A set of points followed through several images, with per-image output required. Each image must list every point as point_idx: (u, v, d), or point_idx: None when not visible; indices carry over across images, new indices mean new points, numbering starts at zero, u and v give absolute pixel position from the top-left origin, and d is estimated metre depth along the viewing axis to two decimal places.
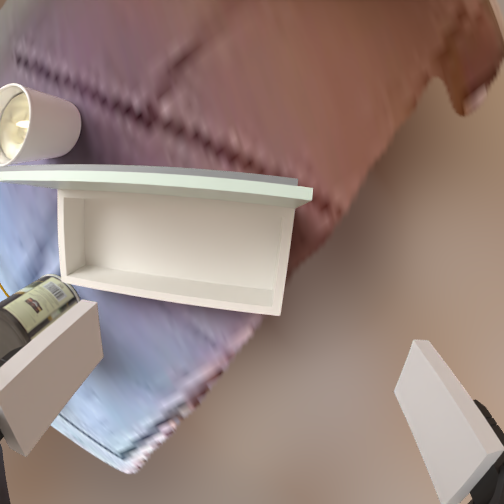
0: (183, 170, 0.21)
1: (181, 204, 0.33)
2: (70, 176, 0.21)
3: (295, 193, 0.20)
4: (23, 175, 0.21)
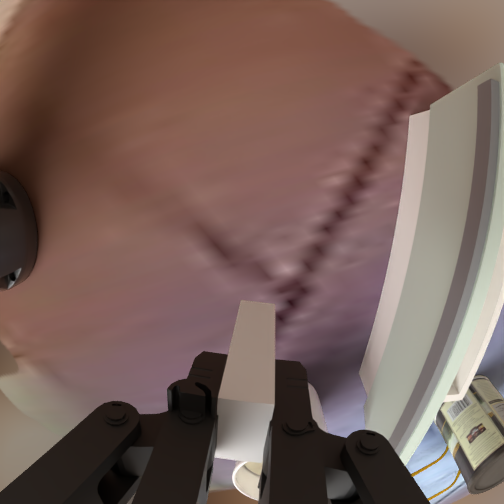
0: (479, 239, 0.12)
1: None
2: (436, 405, 0.14)
3: None
4: None
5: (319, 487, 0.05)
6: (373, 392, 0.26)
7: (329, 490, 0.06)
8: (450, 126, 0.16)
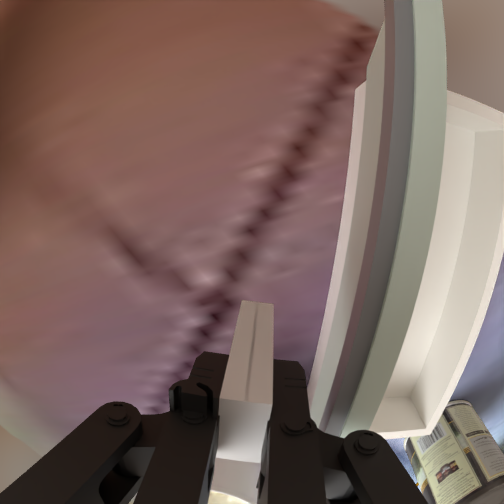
0: (382, 249, 0.07)
1: None
2: None
3: None
4: None
5: (317, 487, 0.05)
6: None
7: (328, 490, 0.06)
8: (377, 81, 0.12)
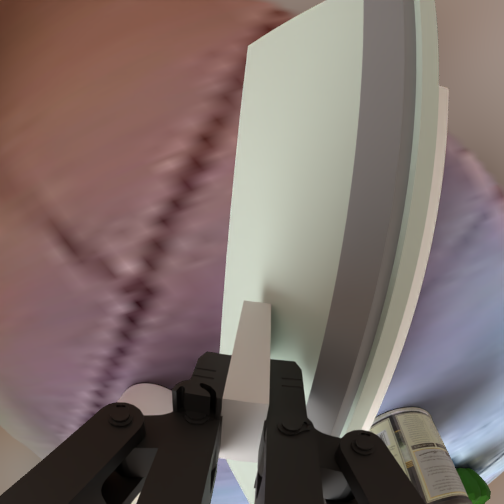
0: (390, 247, 0.08)
1: None
2: None
3: None
4: None
5: (314, 487, 0.05)
6: None
7: (324, 490, 0.06)
8: (289, 65, 0.12)
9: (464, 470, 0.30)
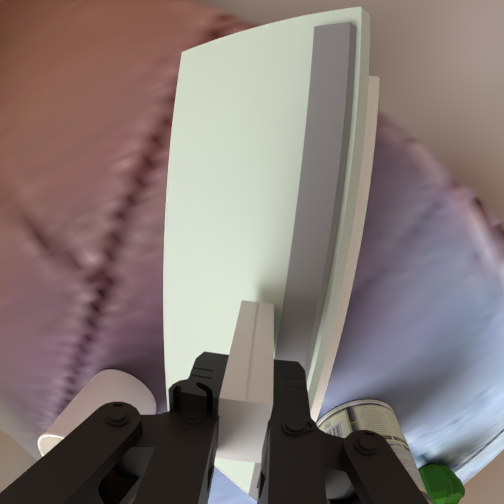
0: (335, 221, 0.11)
1: None
2: None
3: (366, 33, 0.10)
4: None
5: (318, 487, 0.05)
6: None
7: (328, 490, 0.06)
8: (231, 75, 0.14)
9: (436, 466, 0.33)
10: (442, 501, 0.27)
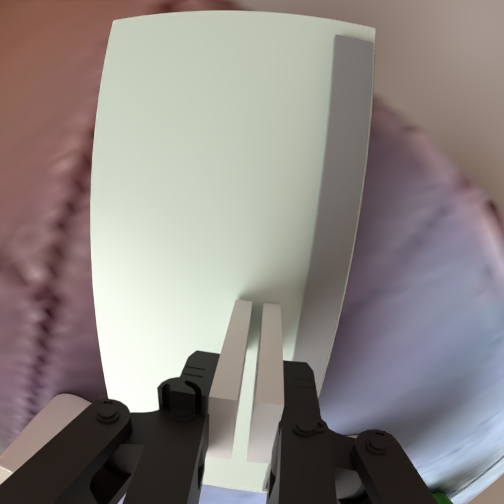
0: (356, 218, 0.12)
1: None
2: None
3: None
4: None
5: (328, 487, 0.05)
6: None
7: (339, 489, 0.06)
8: (207, 58, 0.12)
9: None
10: None
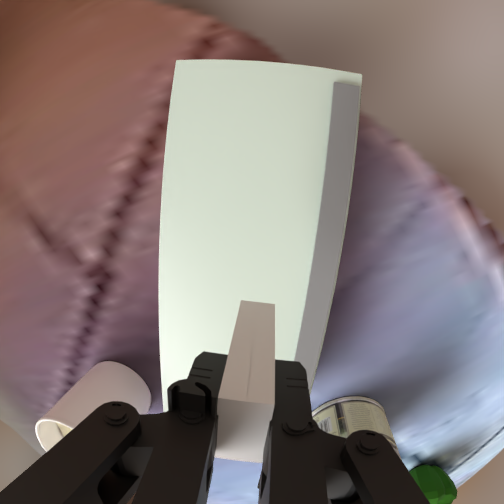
0: (347, 205, 0.19)
1: None
2: None
3: None
4: None
5: (319, 487, 0.05)
6: None
7: (329, 490, 0.06)
8: (248, 96, 0.18)
9: (429, 467, 0.33)
10: (433, 502, 0.27)
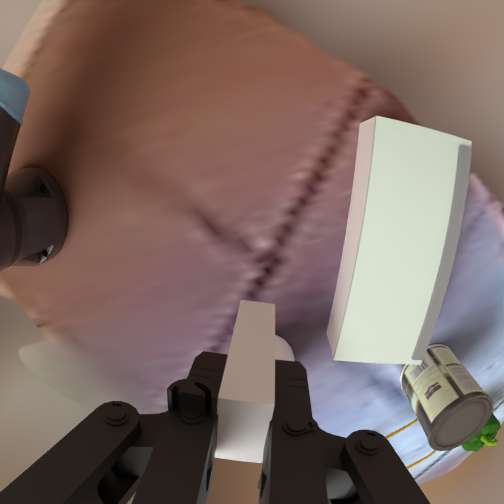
0: (462, 215, 0.30)
1: None
2: None
3: None
4: None
5: (319, 487, 0.05)
6: (349, 340, 0.36)
7: (329, 490, 0.06)
8: (418, 148, 0.29)
9: None
10: (486, 430, 0.39)
